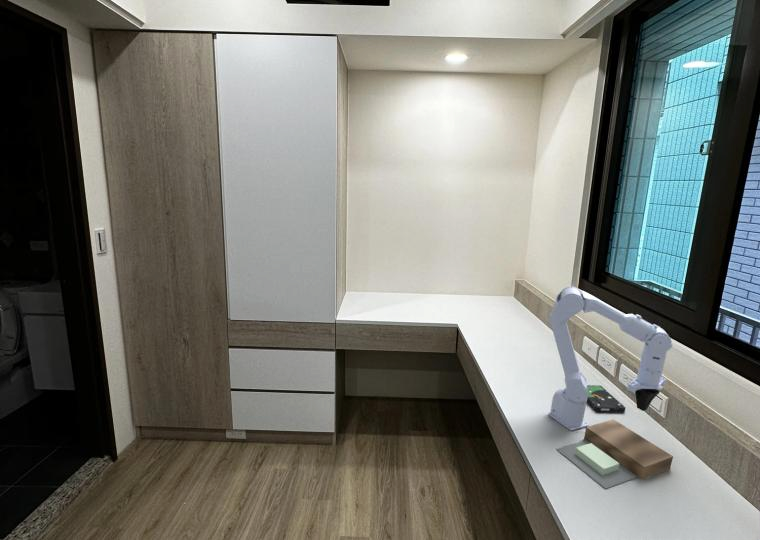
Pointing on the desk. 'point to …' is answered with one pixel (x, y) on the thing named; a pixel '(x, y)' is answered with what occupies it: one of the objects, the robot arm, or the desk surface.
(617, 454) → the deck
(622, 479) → the mat
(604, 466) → the pale green block
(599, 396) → the disk drive
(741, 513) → the desk surface
